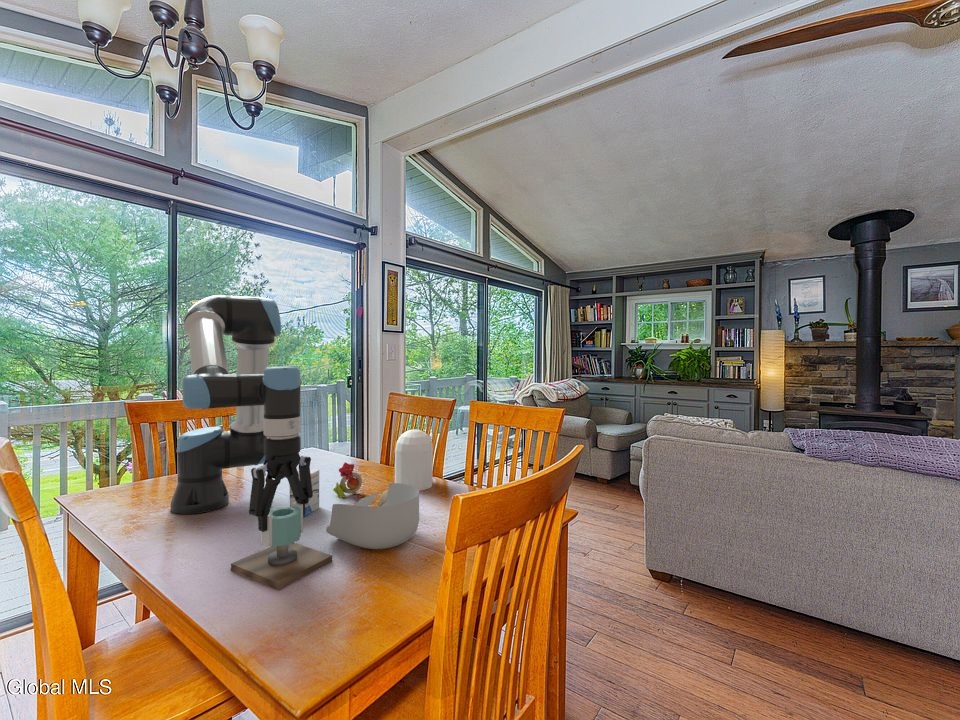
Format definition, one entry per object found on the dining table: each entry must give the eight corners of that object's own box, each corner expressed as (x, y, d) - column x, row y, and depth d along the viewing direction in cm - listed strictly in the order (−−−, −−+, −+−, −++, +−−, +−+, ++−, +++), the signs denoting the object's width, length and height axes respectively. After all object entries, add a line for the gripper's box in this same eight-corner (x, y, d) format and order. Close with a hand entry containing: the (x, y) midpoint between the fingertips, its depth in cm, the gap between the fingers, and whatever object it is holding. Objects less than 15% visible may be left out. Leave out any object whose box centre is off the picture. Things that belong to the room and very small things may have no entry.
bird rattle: (350, 497, 153) (325, 491, 148) (362, 465, 155) (339, 458, 150) (357, 502, 148) (332, 497, 143) (370, 470, 150) (346, 463, 145)
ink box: (304, 517, 129) (304, 477, 129) (288, 516, 130) (288, 475, 130) (320, 507, 138) (320, 469, 137) (305, 505, 139) (305, 468, 138)
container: (440, 483, 163) (440, 428, 162) (416, 493, 151) (416, 434, 151) (411, 477, 170) (412, 424, 169) (386, 486, 158) (386, 430, 158)
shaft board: (230, 570, 99) (230, 523, 98) (286, 545, 111) (285, 503, 111) (278, 590, 91) (278, 539, 91) (332, 561, 103) (332, 516, 103)
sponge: (409, 527, 134) (420, 494, 139) (393, 517, 126) (405, 483, 131) (383, 521, 138) (395, 489, 142) (367, 512, 130) (380, 478, 135)
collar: (257, 541, 99) (257, 514, 99) (286, 530, 106) (285, 504, 105) (279, 548, 96) (279, 520, 96) (307, 536, 102) (307, 510, 102)
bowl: (380, 564, 102) (381, 513, 102) (323, 544, 112) (323, 497, 112) (434, 533, 120) (434, 489, 119) (380, 518, 130) (380, 477, 129)
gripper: (250, 446, 90) (251, 560, 90) (329, 430, 107) (329, 525, 108) (228, 442, 93) (228, 551, 94) (308, 427, 111) (308, 519, 111)
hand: (282, 537), depth 101 cm, fingers closed on collar, 7 cm apart
